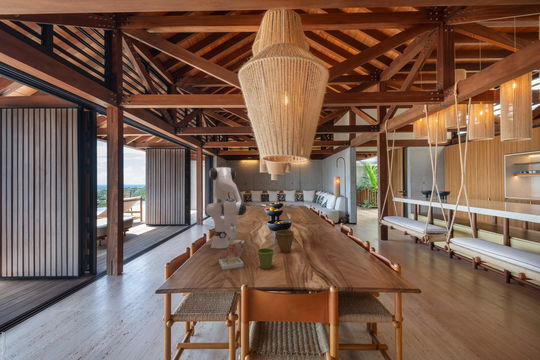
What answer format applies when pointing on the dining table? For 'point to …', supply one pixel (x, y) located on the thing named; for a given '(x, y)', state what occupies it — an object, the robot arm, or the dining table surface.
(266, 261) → the plant pot
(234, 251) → the patterned box
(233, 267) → the tray
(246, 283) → the dining table surface
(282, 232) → the plant pot
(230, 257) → the maple block
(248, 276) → the dining table surface
